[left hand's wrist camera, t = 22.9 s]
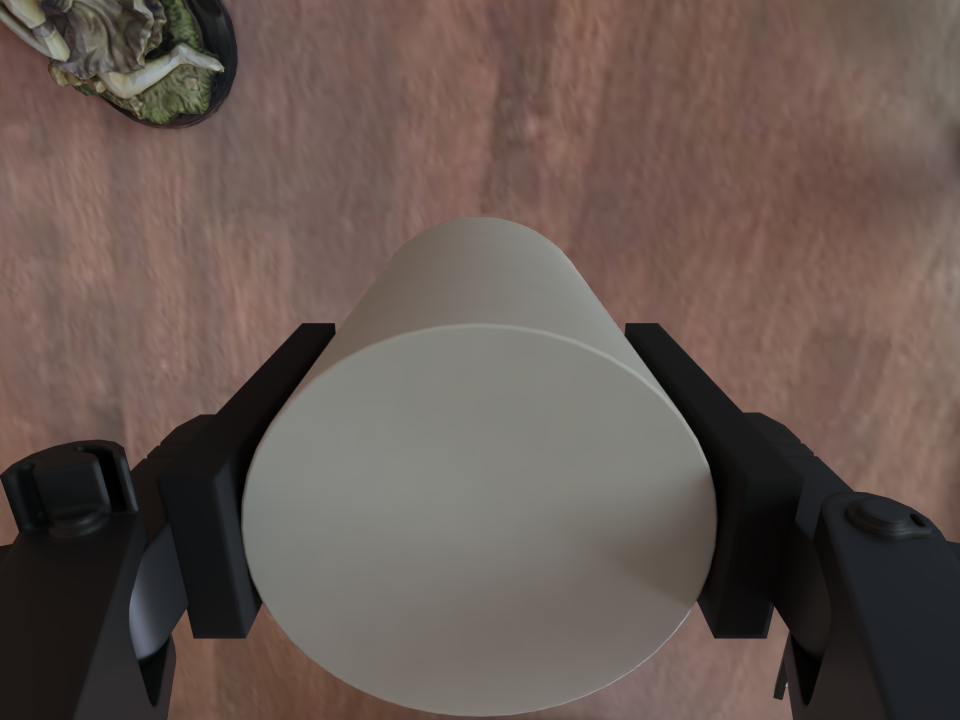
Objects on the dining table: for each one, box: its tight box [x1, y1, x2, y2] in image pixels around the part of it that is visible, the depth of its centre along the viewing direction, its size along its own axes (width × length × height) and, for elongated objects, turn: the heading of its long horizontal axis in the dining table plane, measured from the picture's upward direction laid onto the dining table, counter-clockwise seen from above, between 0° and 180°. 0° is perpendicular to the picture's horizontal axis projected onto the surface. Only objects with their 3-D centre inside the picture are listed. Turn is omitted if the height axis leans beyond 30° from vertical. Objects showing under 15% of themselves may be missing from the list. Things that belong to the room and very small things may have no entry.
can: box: [241, 217, 718, 716], centre depth 13 cm, size 7×7×10 cm
